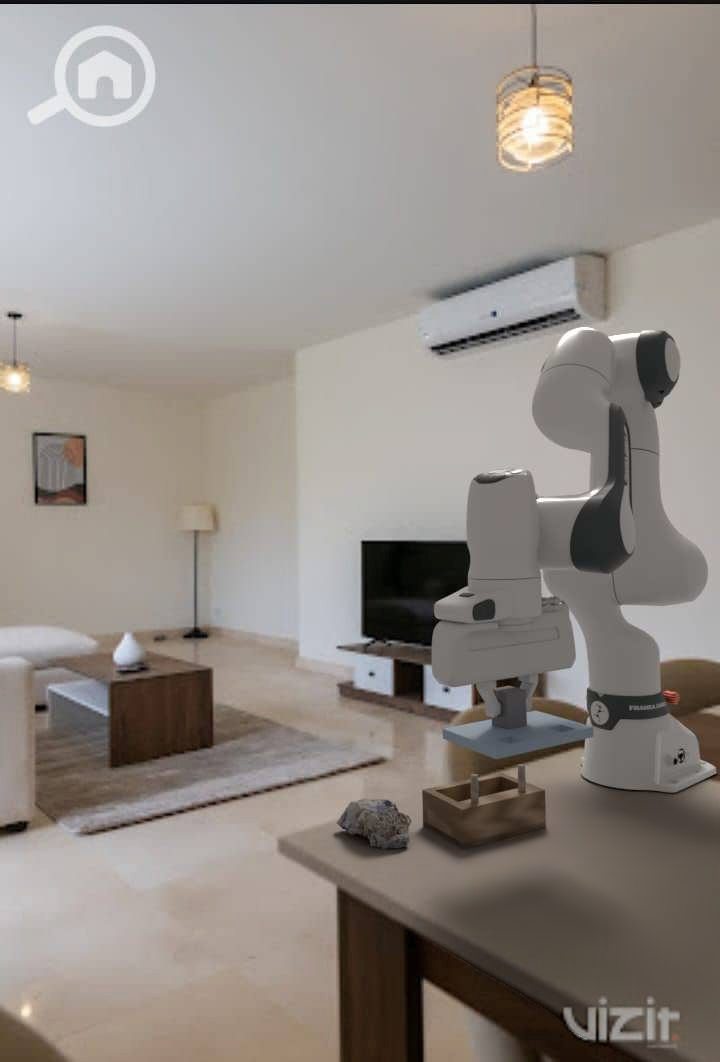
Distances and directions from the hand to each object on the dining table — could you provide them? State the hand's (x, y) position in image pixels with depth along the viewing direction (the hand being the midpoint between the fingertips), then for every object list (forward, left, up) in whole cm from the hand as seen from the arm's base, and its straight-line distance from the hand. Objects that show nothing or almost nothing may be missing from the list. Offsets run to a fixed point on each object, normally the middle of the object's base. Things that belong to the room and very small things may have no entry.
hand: (508, 713), depth 91 cm
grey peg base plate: (0, +2, -3) cm, 3 cm away
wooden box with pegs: (-4, -10, -18) cm, 21 cm away
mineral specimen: (+11, -14, -18) cm, 26 cm away
